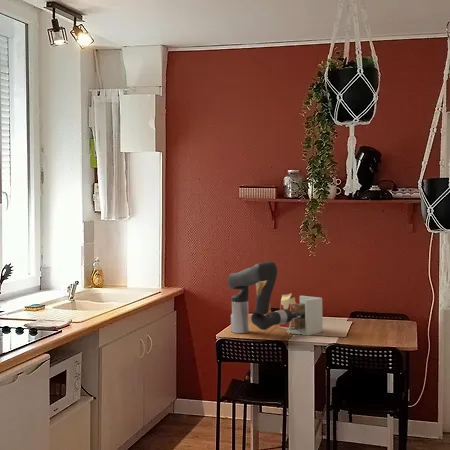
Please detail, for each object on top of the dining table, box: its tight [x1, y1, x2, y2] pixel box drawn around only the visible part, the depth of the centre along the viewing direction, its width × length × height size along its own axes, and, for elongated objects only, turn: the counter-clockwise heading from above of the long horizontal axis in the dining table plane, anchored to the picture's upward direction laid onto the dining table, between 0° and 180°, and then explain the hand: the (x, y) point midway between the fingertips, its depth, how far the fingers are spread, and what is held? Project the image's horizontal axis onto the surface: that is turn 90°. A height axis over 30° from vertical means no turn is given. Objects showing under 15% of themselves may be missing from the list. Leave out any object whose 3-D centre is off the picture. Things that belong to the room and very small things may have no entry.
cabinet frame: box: [285, 295, 324, 337], centre depth 394 cm, size 15×13×19 cm
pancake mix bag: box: [254, 281, 272, 316], centre depth 443 cm, size 7×19×28 cm, turn 151°
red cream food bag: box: [278, 292, 297, 330], centre depth 410 cm, size 9×9×20 cm
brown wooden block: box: [294, 302, 305, 330], centre depth 397 cm, size 4×6×14 cm, turn 133°
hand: (301, 313), depth 397 cm, fingers open, 8 cm apart
